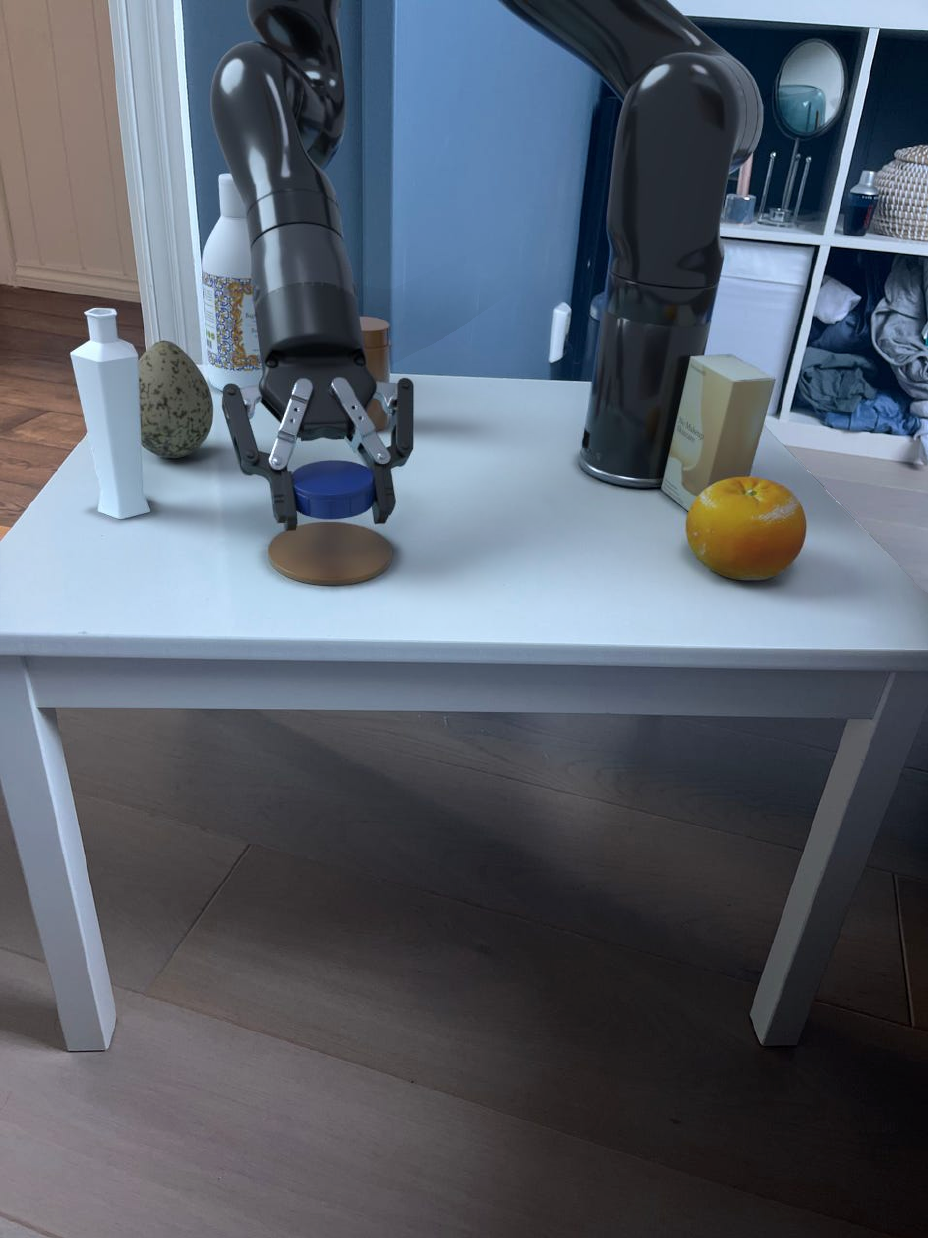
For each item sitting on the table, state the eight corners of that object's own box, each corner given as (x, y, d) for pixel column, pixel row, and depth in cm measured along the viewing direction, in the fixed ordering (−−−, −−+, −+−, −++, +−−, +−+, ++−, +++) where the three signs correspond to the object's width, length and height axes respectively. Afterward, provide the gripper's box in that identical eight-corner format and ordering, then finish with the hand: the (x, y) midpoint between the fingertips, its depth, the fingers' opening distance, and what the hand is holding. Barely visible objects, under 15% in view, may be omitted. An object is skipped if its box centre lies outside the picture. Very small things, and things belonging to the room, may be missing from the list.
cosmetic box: (658, 490, 86) (685, 353, 79) (699, 486, 87) (729, 351, 81) (701, 522, 81) (733, 379, 74) (743, 516, 83) (778, 375, 76)
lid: (275, 500, 69) (272, 476, 68) (337, 477, 73) (336, 453, 72) (328, 527, 66) (327, 502, 65) (391, 501, 69) (390, 476, 68)
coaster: (376, 523, 76) (377, 517, 76) (405, 579, 69) (405, 573, 69) (260, 531, 74) (260, 525, 73) (277, 591, 67) (277, 584, 66)
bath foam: (233, 400, 97) (222, 183, 86) (196, 380, 101) (181, 171, 91) (291, 388, 101) (287, 180, 91) (253, 369, 105) (245, 168, 95)
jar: (381, 412, 97) (385, 315, 92) (393, 431, 93) (397, 330, 88) (332, 414, 96) (332, 316, 91) (342, 433, 92) (343, 331, 87)
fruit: (654, 499, 75) (729, 436, 70) (731, 524, 80) (806, 466, 74) (681, 591, 71) (762, 531, 66) (760, 612, 76) (842, 558, 70)
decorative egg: (158, 434, 88) (147, 323, 83) (230, 448, 87) (224, 336, 82) (113, 463, 82) (99, 345, 77) (190, 478, 81) (180, 359, 76)
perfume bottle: (139, 525, 73) (116, 324, 65) (85, 516, 74) (56, 316, 66) (167, 500, 77) (149, 308, 69) (116, 492, 78) (91, 300, 70)
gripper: (391, 331, 77) (424, 533, 74) (205, 333, 73) (230, 548, 70) (411, 277, 70) (448, 499, 67) (205, 277, 66) (234, 513, 63)
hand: (336, 523), depth 68 cm, fingers closed on lid, 5 cm apart
